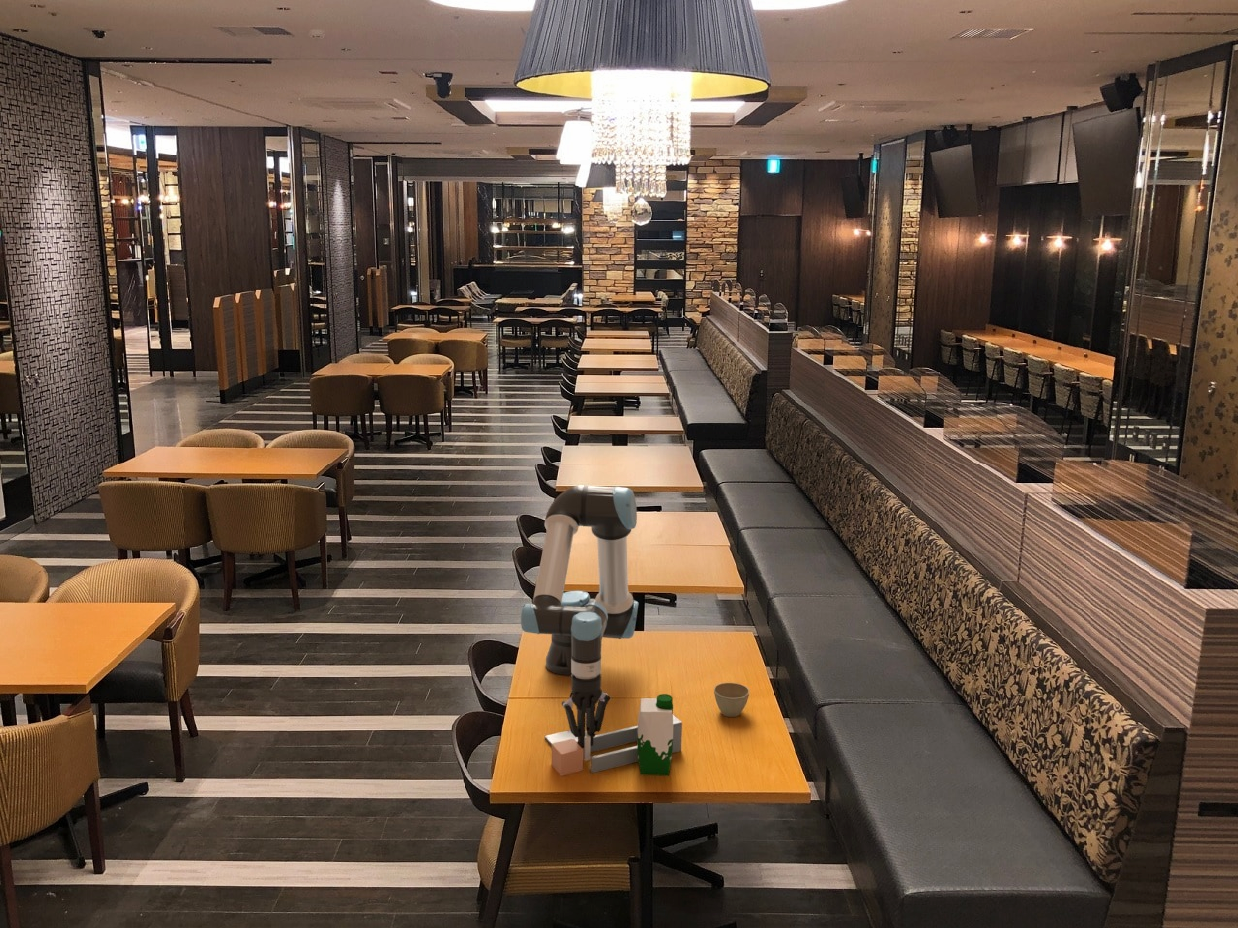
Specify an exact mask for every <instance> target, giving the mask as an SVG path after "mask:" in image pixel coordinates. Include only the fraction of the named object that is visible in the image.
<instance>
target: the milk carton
mask: <svg viewBox="0 0 1238 928" xmlns="http://www.w3.org/2000/svg"><path fill="white" fill-rule="evenodd" d="M673 698H674V697H673V696H672V695H670V694H667V693H662V694H658V695H657V696H656V697H651V698H647V697H645V698H644V697H641V698H640V705H639V709H638V710H639V712H638V718H637V726H638V738H637V741H636V743H637V745H636V746H637V750H638V760H639V761H638V766H639V772H640V775H644V776H645V775H647V776H648V775H649V776H670V771H671V767H672V766H671V764H672V760H673V759H672V758H673V753H672V751H673V715H674V703H673V700H674V699H673Z"/></svg>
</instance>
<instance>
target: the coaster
mask: <svg viewBox="0 0 1238 928" xmlns="http://www.w3.org/2000/svg"><path fill="white" fill-rule="evenodd" d="M544 739H545V740H546V741H547V743H548V744H549V745H550V747H552V743H556V742H561V741H565V740H569V739H574V740H577V739H578V737H575V736H574V735H573V734H572V733H571V731H570V729H569V730H565V731H561V732H555V733H552V734H547V735H544Z"/></svg>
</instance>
